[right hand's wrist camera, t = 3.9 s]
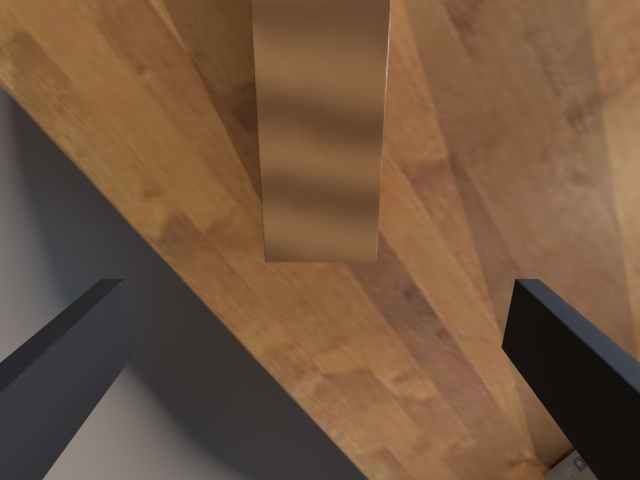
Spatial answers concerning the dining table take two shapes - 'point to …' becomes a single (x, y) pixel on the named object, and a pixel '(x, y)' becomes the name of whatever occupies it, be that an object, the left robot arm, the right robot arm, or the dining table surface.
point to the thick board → (320, 125)
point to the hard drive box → (571, 469)
